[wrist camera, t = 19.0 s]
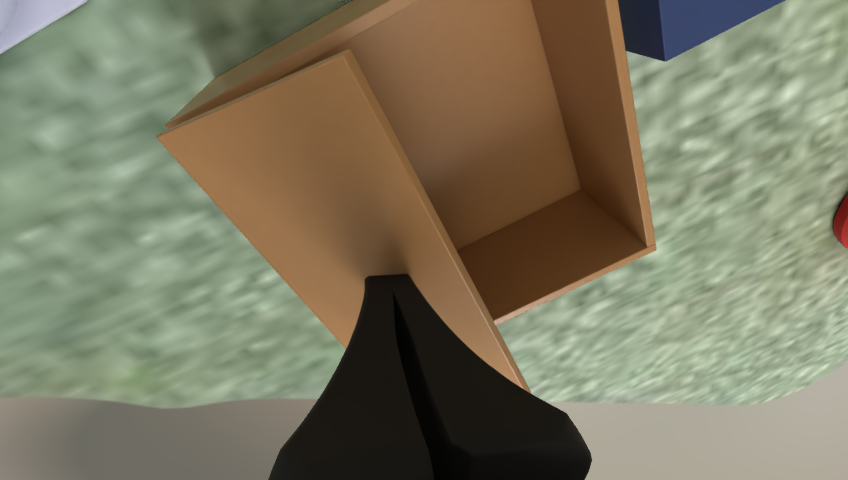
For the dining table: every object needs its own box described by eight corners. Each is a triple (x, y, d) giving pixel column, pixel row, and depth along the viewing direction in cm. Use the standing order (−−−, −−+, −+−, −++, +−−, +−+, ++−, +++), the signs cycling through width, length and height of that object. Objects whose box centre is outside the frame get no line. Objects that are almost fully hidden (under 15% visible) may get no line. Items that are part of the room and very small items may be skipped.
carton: (372, 293, 25) (383, 378, 20) (213, 78, 18) (163, 125, 12) (585, 188, 24) (657, 250, 19) (513, -91, 16) (599, -119, 11)
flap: (387, 384, 20) (384, 392, 19) (164, 129, 12) (154, 136, 12) (531, 391, 16) (530, 401, 16) (349, 47, 9) (342, 55, 9)
